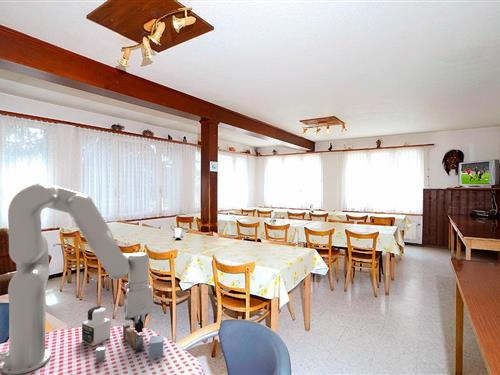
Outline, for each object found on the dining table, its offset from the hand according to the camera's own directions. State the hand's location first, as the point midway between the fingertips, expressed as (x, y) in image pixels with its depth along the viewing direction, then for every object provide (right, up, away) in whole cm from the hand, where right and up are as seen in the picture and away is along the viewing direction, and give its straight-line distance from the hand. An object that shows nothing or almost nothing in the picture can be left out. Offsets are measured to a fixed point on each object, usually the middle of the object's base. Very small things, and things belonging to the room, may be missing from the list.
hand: (139, 331), depth 111 cm
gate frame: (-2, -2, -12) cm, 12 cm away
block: (+10, -3, -11) cm, 15 cm away
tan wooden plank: (-1, -2, -4) cm, 5 cm away
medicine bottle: (-16, -2, -2) cm, 16 cm away
